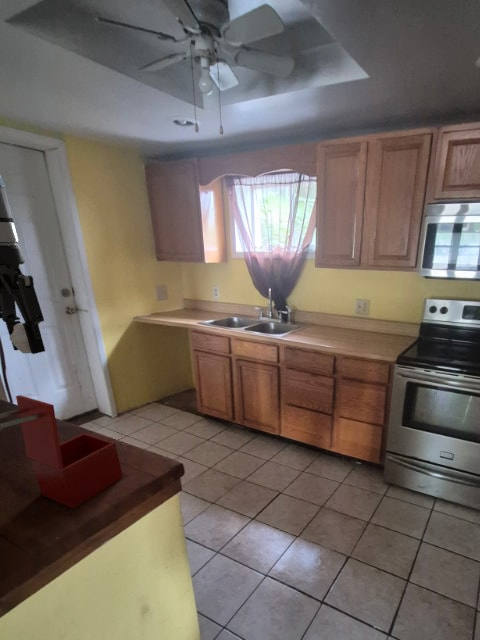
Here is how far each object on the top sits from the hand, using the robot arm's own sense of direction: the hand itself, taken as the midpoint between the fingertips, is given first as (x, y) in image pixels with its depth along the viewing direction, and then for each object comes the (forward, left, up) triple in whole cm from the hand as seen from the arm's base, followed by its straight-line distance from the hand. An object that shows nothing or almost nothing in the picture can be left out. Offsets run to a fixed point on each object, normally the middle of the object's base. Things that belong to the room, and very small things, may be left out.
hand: (29, 350), depth 87 cm
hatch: (+21, -13, -11) cm, 27 cm away
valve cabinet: (+21, -8, -27) cm, 35 cm away
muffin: (0, 0, -1) cm, 1 cm away
